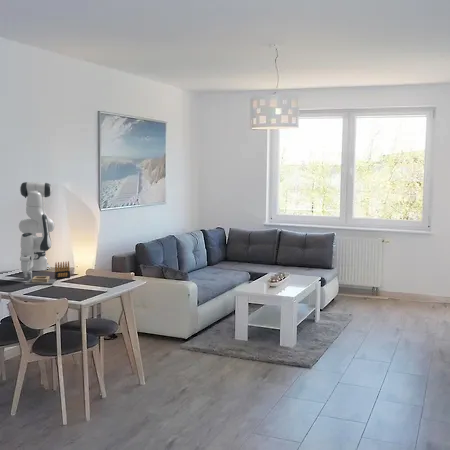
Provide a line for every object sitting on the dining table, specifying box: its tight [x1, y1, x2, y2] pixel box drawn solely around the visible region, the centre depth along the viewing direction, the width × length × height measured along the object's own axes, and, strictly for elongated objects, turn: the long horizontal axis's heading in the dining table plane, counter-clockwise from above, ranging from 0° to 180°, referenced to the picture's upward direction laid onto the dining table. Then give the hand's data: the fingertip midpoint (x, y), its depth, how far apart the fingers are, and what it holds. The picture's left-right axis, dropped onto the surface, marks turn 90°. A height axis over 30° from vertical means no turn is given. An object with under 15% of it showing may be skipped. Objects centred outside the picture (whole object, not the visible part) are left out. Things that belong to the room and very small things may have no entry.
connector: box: [22, 271, 33, 281], centre depth 414 cm, size 4×5×6 cm
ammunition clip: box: [54, 260, 71, 280], centre depth 421 cm, size 11×2×12 cm, turn 120°
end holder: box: [24, 275, 57, 286], centre depth 405 cm, size 16×18×4 cm
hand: (27, 275), depth 414 cm, fingers open, 8 cm apart
